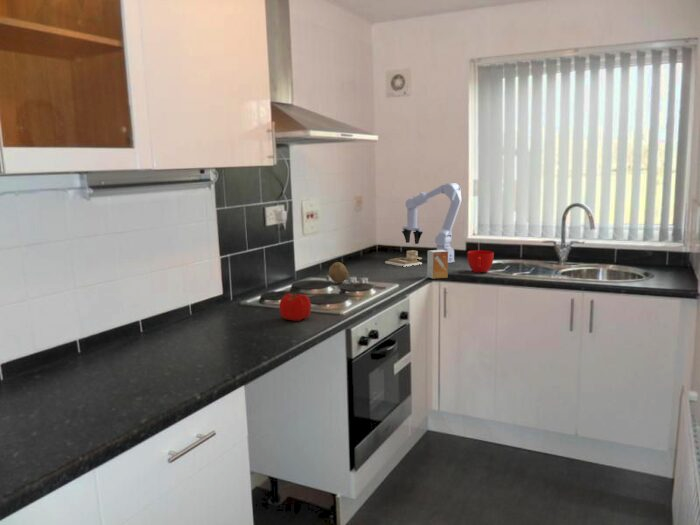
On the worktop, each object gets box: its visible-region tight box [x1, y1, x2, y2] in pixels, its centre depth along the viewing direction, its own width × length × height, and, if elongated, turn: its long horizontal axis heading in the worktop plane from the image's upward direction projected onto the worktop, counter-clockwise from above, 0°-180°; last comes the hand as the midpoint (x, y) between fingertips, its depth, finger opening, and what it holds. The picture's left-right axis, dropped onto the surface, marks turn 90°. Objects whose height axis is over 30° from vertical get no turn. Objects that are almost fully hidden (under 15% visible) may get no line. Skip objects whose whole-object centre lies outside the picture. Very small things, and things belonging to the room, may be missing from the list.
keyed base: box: [384, 257, 423, 268], centre depth 319 cm, size 16×13×2 cm
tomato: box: [278, 293, 312, 322], centre depth 206 cm, size 11×12×9 cm
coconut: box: [328, 261, 350, 284], centre depth 268 cm, size 9×9×10 cm
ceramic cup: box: [467, 249, 495, 274], centre depth 289 cm, size 13×17×10 cm
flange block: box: [406, 249, 423, 260], centre depth 333 cm, size 10×6×5 cm, turn 127°
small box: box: [426, 249, 449, 280], centre depth 278 cm, size 8×6×13 cm
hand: (412, 243), depth 332 cm, fingers open, 7 cm apart
